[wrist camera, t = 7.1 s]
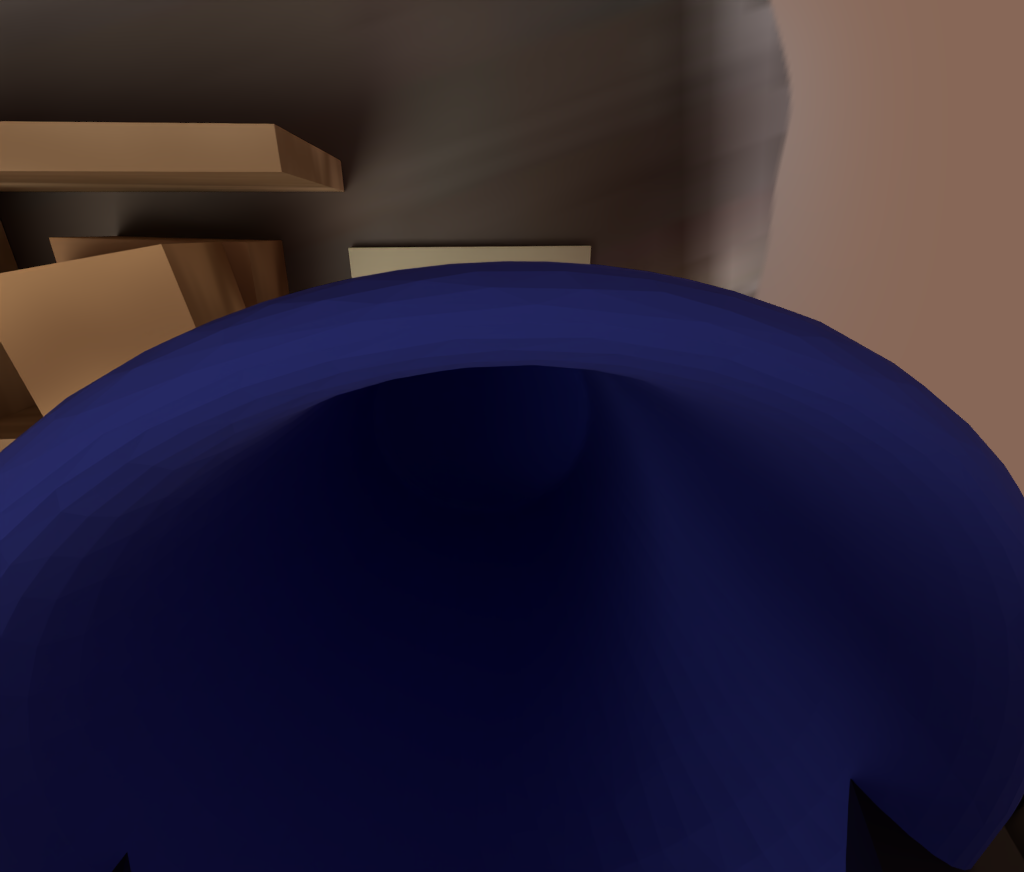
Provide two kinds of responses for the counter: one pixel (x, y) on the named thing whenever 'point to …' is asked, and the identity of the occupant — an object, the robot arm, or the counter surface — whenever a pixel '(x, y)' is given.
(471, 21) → the counter surface
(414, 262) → the sage tile
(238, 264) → the offcut walnut
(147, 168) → the rack
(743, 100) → the counter surface
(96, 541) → the mug
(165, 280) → the offcut oak
